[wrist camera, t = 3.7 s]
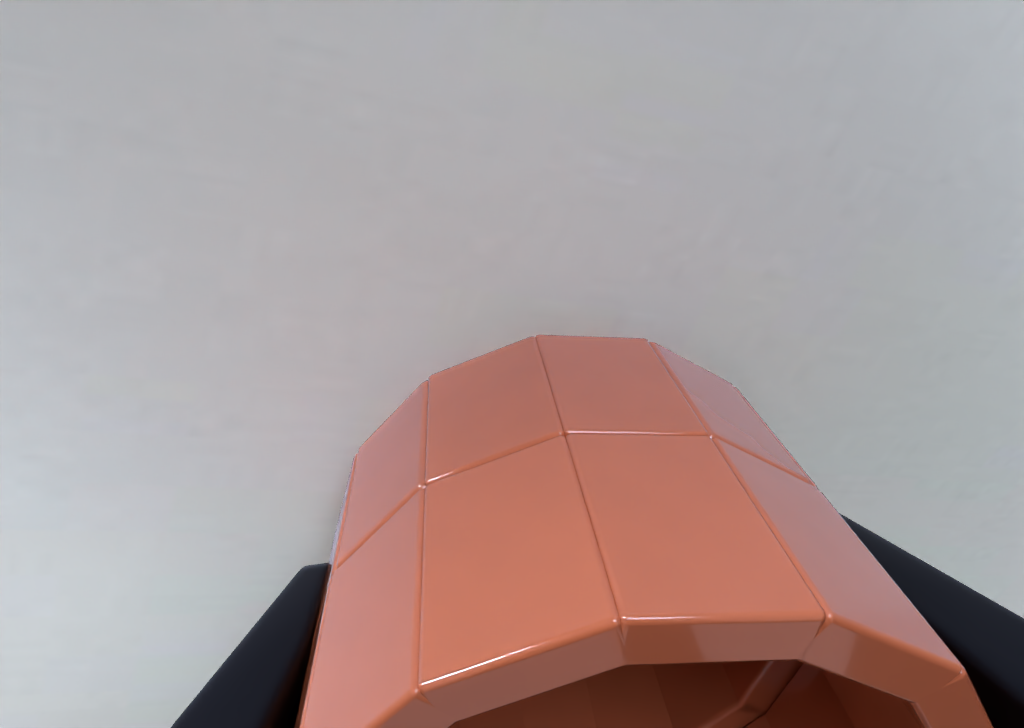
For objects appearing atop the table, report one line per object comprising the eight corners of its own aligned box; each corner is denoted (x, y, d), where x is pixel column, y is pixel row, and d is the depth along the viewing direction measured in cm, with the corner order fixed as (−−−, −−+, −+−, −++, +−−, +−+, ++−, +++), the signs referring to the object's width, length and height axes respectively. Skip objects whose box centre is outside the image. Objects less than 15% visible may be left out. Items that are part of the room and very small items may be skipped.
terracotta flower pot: (789, 572, 12) (1006, 911, 7) (445, 689, 12) (449, 1068, 8) (715, 244, 8) (1014, 486, 4) (257, 424, 9) (82, 804, 5)
